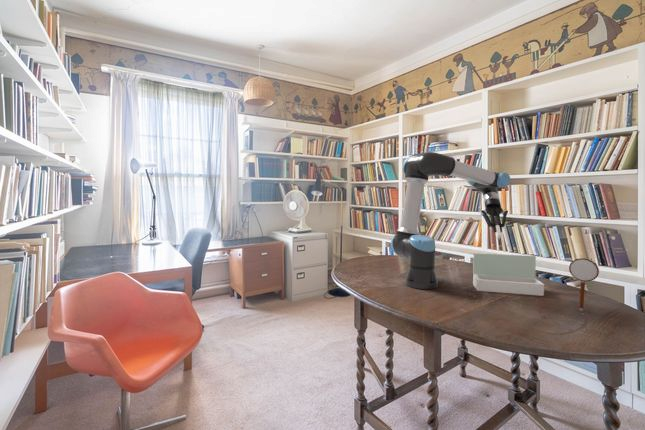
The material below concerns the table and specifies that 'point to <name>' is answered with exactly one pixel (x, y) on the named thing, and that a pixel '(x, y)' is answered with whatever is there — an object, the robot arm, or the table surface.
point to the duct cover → (504, 265)
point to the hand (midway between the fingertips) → (499, 237)
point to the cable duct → (508, 284)
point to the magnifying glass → (583, 274)
